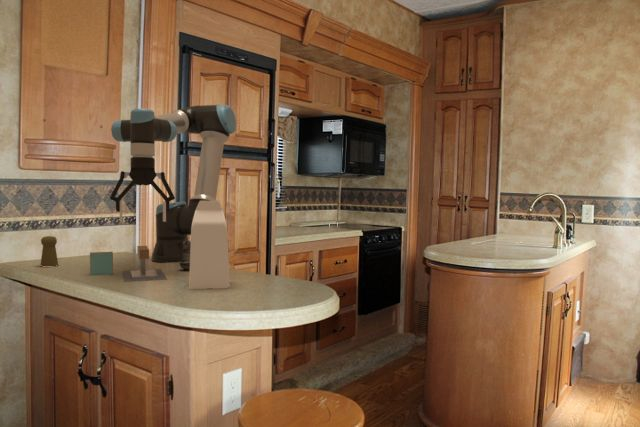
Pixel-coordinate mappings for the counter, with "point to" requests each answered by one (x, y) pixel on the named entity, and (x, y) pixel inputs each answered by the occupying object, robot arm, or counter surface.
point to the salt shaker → (186, 255)
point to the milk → (209, 247)
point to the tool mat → (161, 276)
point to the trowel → (143, 265)
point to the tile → (101, 263)
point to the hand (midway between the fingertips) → (143, 221)
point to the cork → (49, 251)
